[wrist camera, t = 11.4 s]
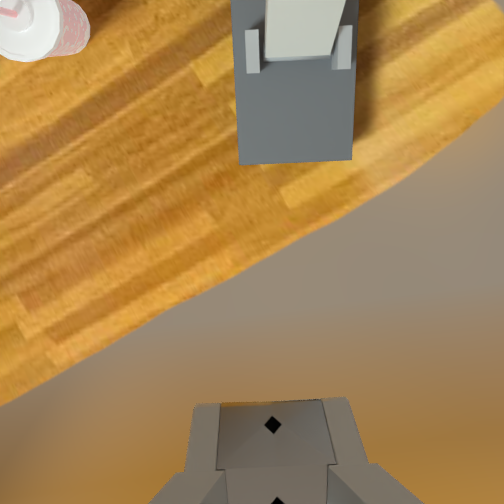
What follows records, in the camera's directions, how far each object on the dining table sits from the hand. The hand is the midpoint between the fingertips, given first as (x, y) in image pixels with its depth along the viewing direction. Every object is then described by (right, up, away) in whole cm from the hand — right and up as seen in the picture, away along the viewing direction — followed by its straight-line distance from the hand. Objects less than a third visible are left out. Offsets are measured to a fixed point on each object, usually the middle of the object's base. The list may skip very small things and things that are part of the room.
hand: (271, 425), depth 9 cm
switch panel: (+3, +22, +31) cm, 38 cm away
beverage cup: (-17, +24, +30) cm, 42 cm away
